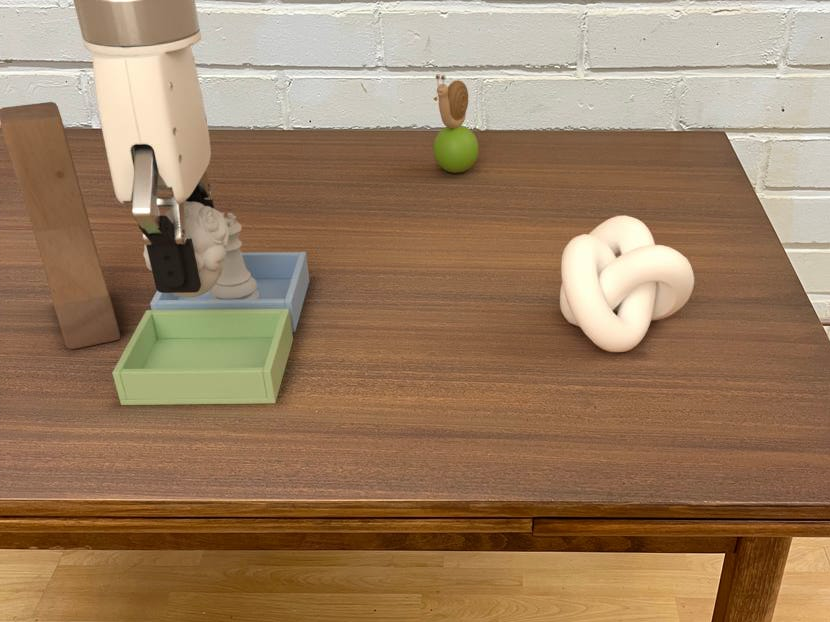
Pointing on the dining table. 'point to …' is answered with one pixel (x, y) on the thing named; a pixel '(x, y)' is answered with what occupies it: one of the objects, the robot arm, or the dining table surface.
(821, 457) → the dining table surface
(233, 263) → the rook chess piece
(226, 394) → the green tray
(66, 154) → the wooden block
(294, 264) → the blue tray
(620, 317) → the white knot sculpture
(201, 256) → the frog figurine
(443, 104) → the snail figurine
